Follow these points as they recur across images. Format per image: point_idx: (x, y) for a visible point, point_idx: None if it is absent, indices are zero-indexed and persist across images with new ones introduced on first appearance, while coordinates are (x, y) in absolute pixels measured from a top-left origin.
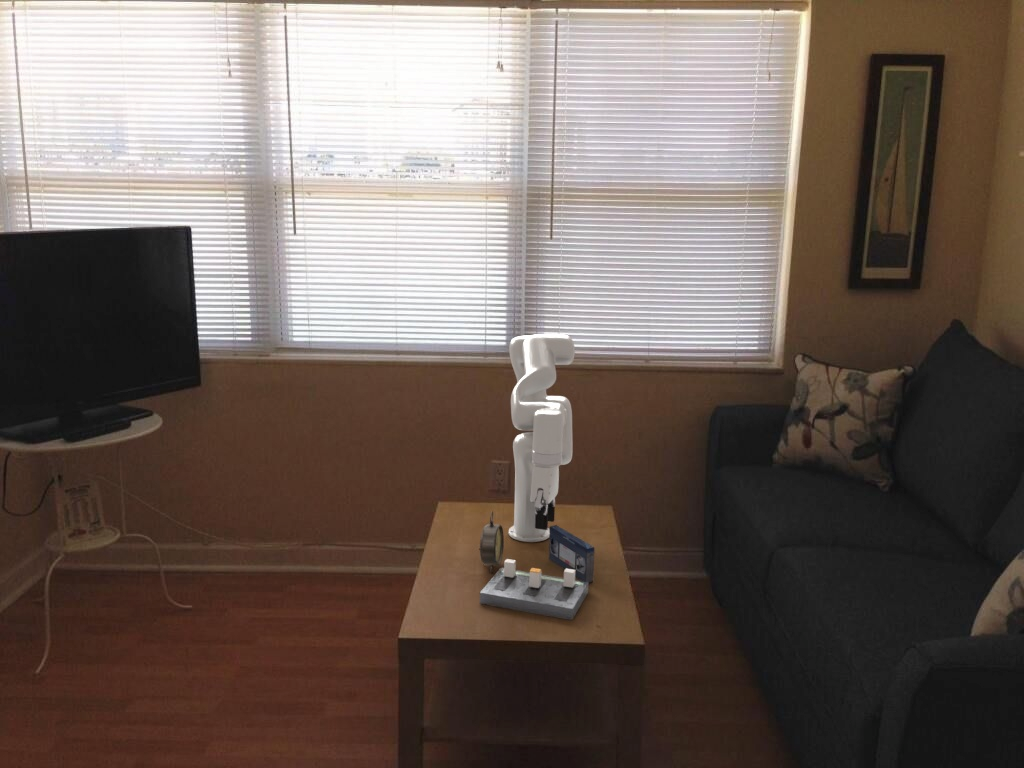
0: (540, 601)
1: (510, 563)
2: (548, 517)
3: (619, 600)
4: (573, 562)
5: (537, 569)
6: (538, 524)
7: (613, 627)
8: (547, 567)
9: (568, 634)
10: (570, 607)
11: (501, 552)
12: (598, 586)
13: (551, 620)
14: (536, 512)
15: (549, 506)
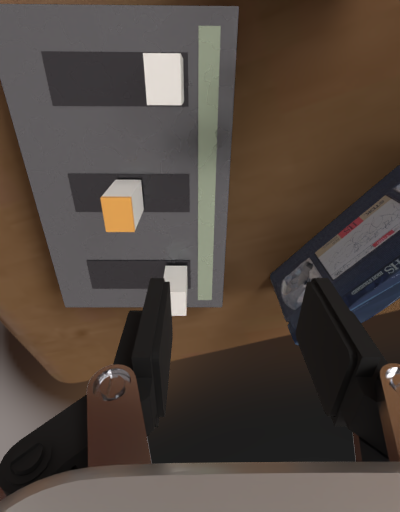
0: (54, 232)
1: (146, 89)
2: (308, 328)
3: (207, 344)
4: (326, 255)
5: (125, 220)
6: (128, 323)
7: (92, 353)
8: (355, 157)
9: (13, 296)
10: (68, 302)
11: None
12: (261, 300)
13: (47, 252)
14: (89, 396)
15: (344, 404)
